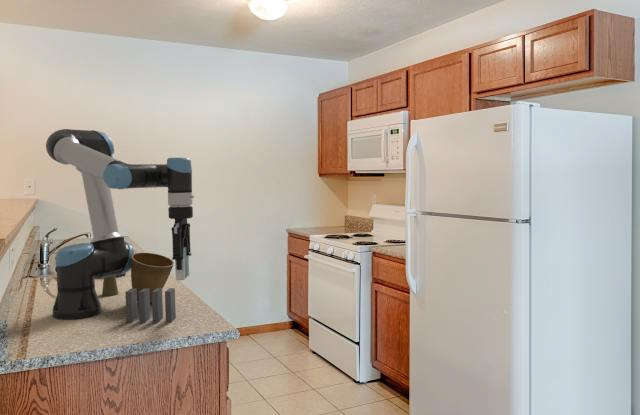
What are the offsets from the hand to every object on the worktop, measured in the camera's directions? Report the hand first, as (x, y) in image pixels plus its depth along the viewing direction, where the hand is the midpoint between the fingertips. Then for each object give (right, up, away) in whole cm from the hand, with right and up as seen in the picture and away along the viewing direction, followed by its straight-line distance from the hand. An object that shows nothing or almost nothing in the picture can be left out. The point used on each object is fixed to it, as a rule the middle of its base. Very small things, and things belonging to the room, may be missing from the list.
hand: (182, 277), depth 170 cm
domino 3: (-8, -14, +1) cm, 16 cm away
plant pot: (-21, -12, +24) cm, 34 cm away
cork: (-39, -12, +38) cm, 56 cm away
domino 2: (-13, -14, +1) cm, 19 cm away
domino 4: (-4, -14, +1) cm, 15 cm away
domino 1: (-17, -14, +1) cm, 22 cm away
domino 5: (0, 0, 0) cm, 0 cm away
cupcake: (-50, -9, +75) cm, 91 cm away
